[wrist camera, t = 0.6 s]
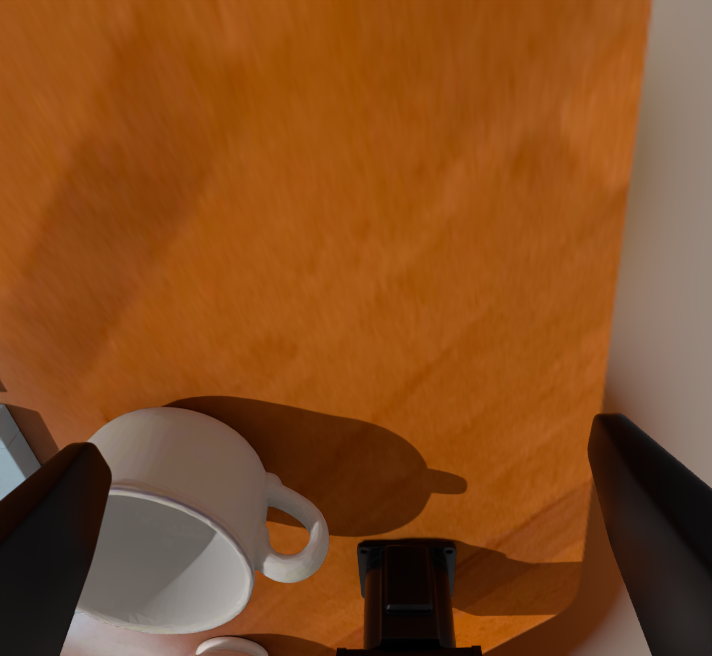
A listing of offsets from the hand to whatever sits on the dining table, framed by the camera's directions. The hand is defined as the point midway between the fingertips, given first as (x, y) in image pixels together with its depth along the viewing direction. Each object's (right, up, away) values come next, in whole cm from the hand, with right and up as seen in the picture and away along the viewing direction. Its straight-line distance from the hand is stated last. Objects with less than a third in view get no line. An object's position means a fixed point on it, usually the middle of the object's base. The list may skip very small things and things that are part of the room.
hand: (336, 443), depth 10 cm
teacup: (-8, -5, +22) cm, 24 cm away
